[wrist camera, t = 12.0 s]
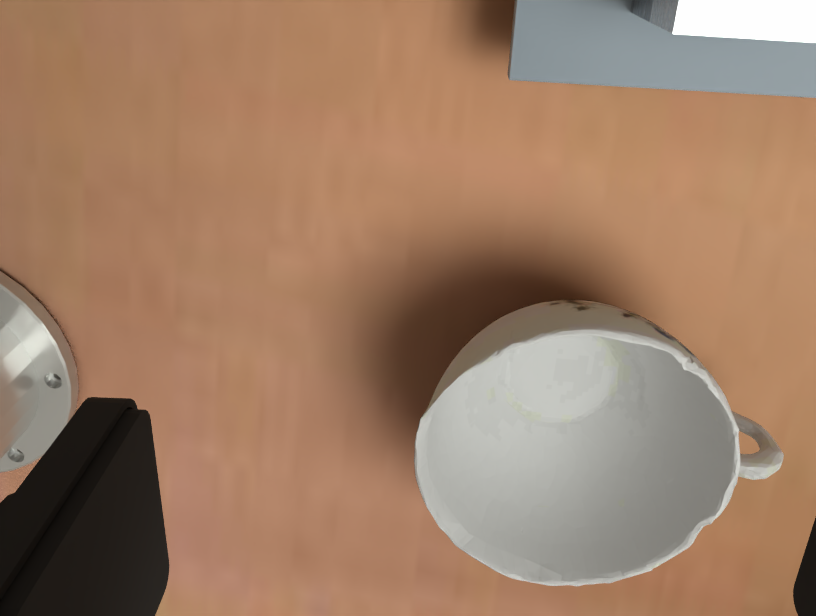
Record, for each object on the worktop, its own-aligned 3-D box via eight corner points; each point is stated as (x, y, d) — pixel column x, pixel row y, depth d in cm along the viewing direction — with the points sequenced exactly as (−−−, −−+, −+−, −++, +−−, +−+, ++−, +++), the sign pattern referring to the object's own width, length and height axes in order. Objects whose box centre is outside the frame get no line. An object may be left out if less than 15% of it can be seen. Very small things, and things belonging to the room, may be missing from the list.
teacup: (412, 459, 40) (401, 575, 33) (435, 233, 34) (428, 313, 27) (704, 490, 40) (757, 614, 32) (775, 267, 34) (858, 357, 27)
